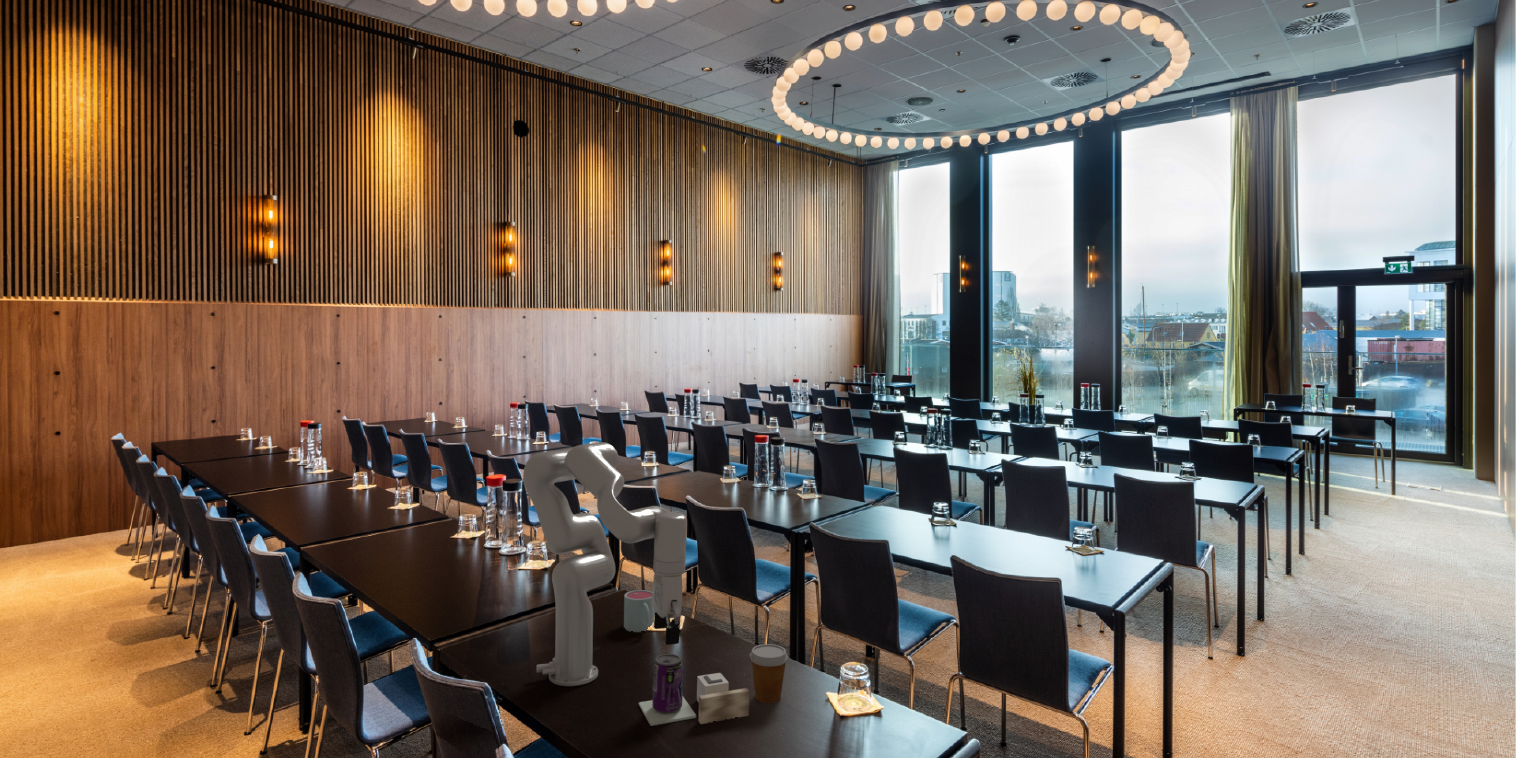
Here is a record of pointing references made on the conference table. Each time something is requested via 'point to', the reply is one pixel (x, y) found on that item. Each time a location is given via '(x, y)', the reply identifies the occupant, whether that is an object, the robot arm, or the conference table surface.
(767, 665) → the disposable coffee cup
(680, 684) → the beverage can
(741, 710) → the birch screen
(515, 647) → the conference table surface
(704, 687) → the letter block
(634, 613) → the mug
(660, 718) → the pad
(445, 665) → the conference table surface
